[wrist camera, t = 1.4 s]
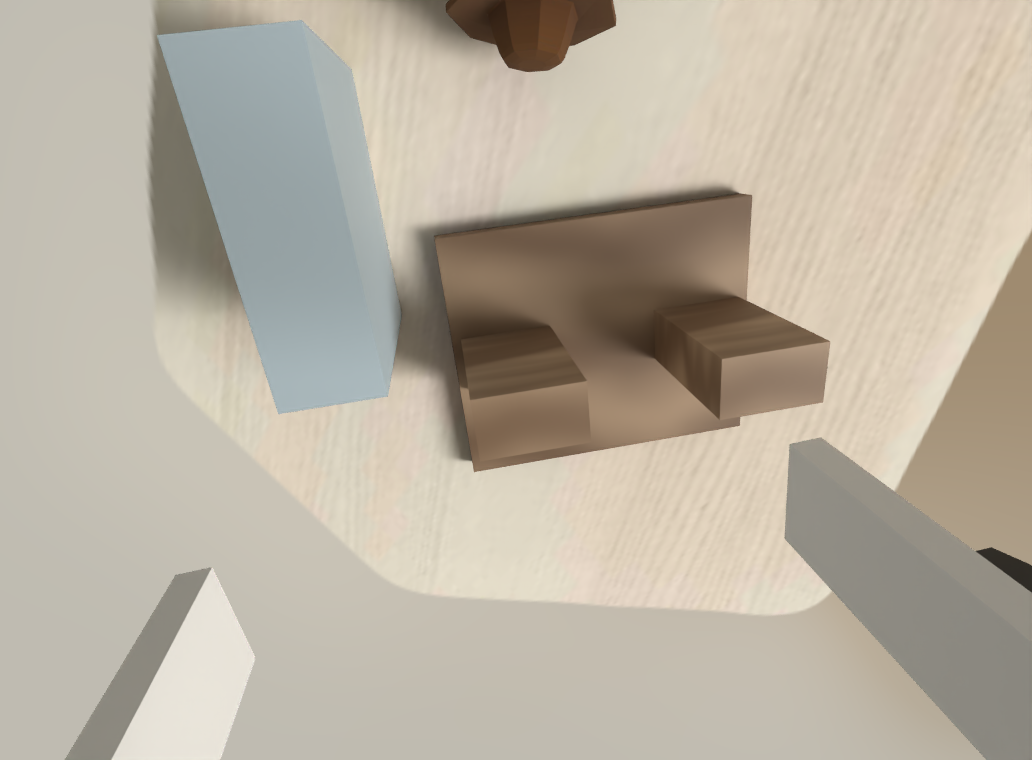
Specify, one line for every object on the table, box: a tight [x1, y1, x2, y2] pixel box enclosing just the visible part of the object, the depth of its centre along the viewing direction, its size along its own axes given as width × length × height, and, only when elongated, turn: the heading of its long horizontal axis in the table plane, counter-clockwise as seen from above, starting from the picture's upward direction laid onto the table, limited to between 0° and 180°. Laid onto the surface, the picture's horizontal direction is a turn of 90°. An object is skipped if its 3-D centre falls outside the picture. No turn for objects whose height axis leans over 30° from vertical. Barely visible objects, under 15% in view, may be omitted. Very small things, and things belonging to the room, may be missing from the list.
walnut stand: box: [434, 194, 830, 472], centre depth 29 cm, size 14×17×9 cm
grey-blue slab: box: [157, 20, 402, 414], centre depth 23 cm, size 12×4×11 cm, turn 7°
